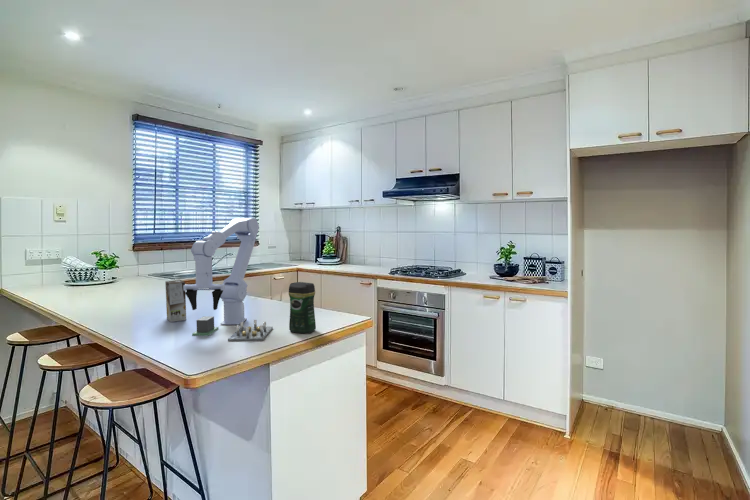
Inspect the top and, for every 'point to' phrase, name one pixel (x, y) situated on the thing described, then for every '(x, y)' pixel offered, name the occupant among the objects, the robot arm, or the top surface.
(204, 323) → the grey block
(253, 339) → the peg board with balls
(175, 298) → the coffee box
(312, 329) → the coffee jar
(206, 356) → the top surface
